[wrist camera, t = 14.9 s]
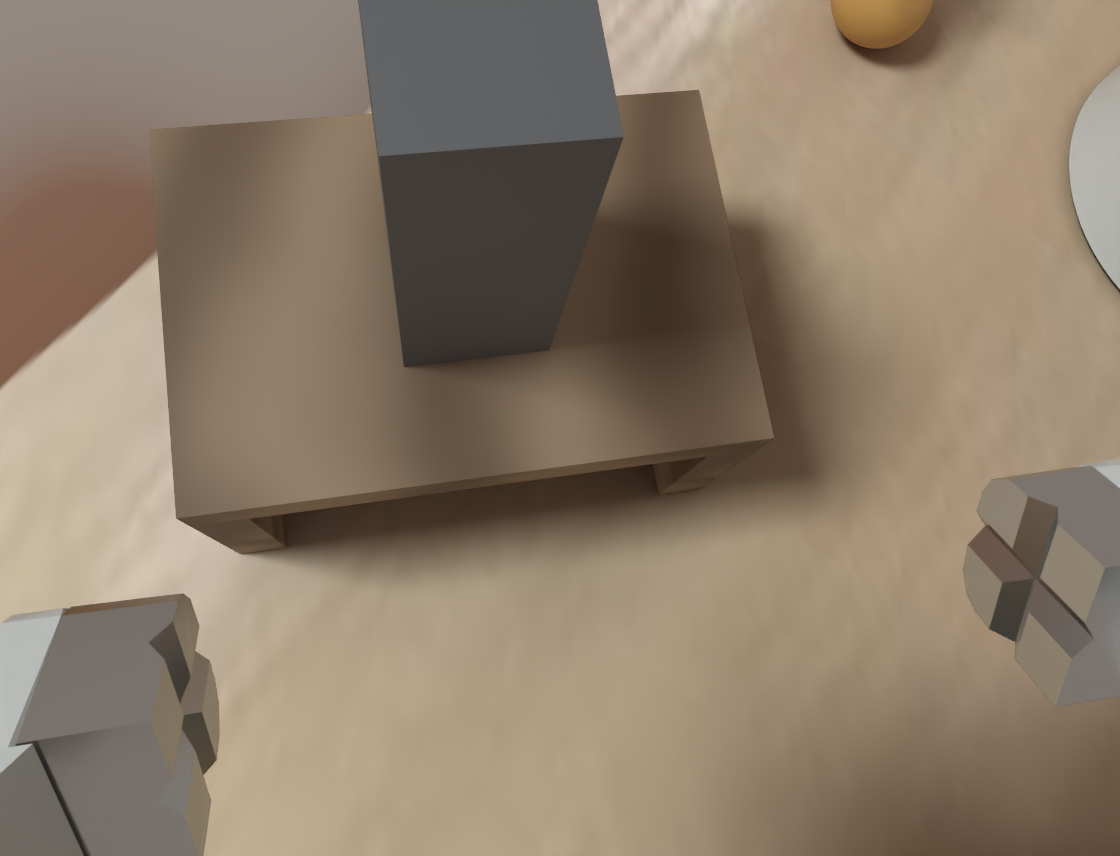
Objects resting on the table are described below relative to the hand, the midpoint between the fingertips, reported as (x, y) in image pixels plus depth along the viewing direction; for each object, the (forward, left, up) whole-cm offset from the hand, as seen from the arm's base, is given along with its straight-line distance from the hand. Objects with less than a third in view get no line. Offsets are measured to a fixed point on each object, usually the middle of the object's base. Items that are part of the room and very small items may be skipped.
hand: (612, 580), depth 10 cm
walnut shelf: (0, -10, -23) cm, 25 cm away
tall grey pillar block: (0, -10, -15) cm, 18 cm away
